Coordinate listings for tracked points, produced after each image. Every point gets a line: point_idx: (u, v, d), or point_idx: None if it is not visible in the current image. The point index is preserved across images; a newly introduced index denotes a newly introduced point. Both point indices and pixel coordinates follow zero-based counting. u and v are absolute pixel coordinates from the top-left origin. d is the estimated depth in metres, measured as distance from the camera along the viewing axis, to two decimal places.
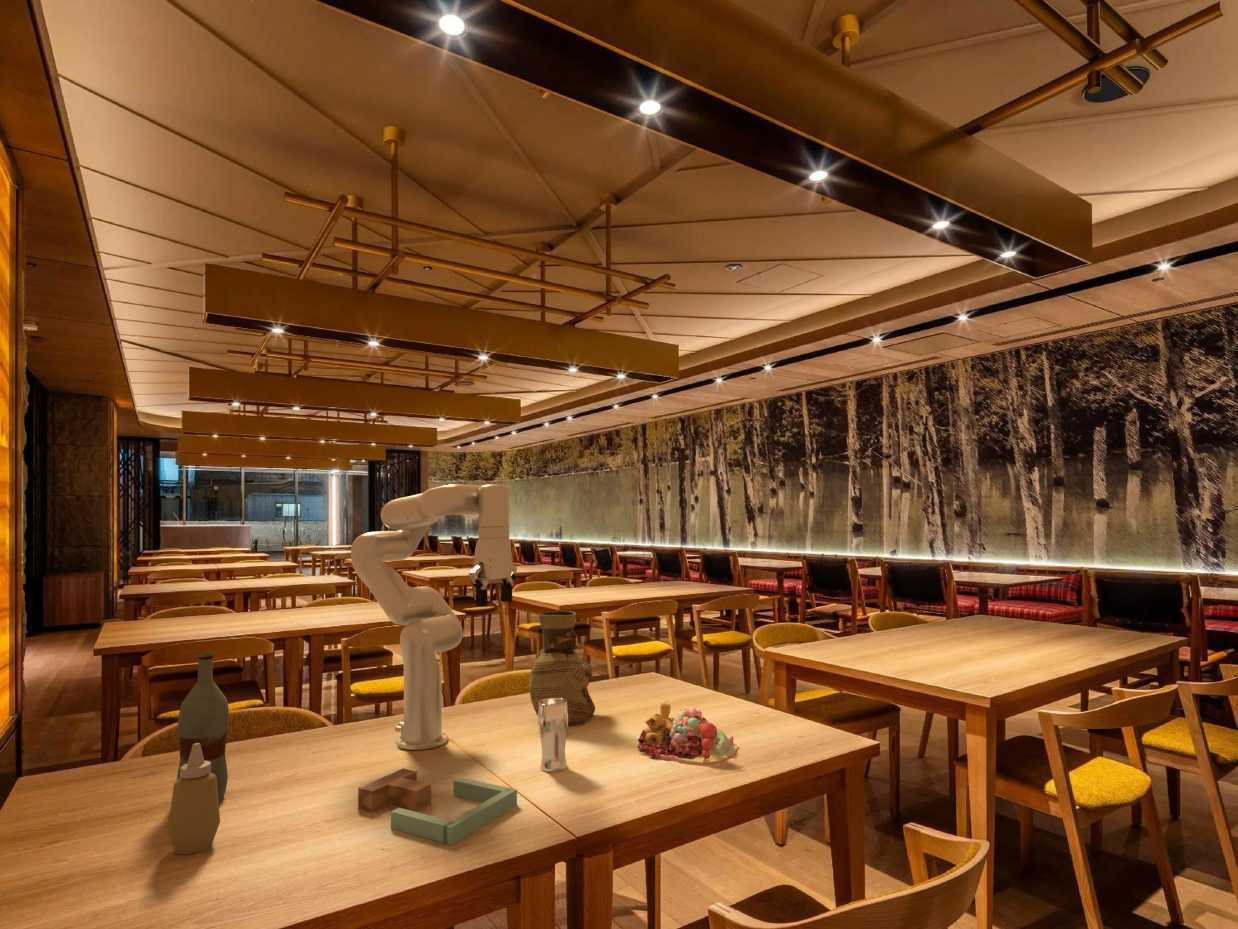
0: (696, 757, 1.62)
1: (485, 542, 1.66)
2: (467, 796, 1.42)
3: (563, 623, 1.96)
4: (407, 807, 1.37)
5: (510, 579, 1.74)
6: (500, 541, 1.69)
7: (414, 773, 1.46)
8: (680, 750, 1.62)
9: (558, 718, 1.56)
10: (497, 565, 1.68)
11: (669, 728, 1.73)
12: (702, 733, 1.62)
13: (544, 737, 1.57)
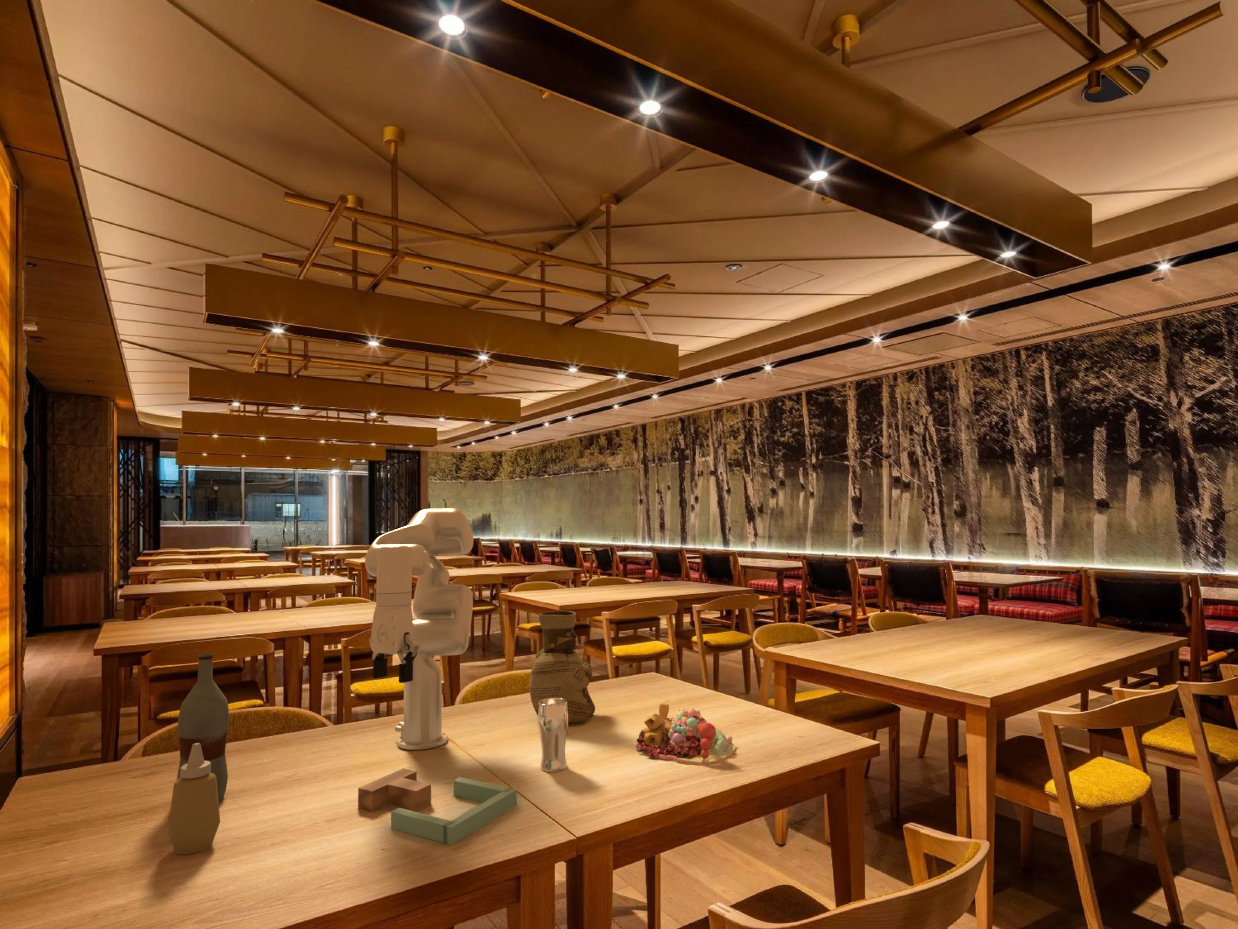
0: (695, 757, 1.62)
1: (408, 609, 1.51)
2: (467, 796, 1.42)
3: (563, 623, 1.96)
4: (407, 807, 1.37)
5: None
6: None
7: (414, 773, 1.46)
8: (679, 750, 1.62)
9: (558, 718, 1.56)
10: None
11: (668, 728, 1.73)
12: (701, 733, 1.62)
13: (544, 737, 1.57)
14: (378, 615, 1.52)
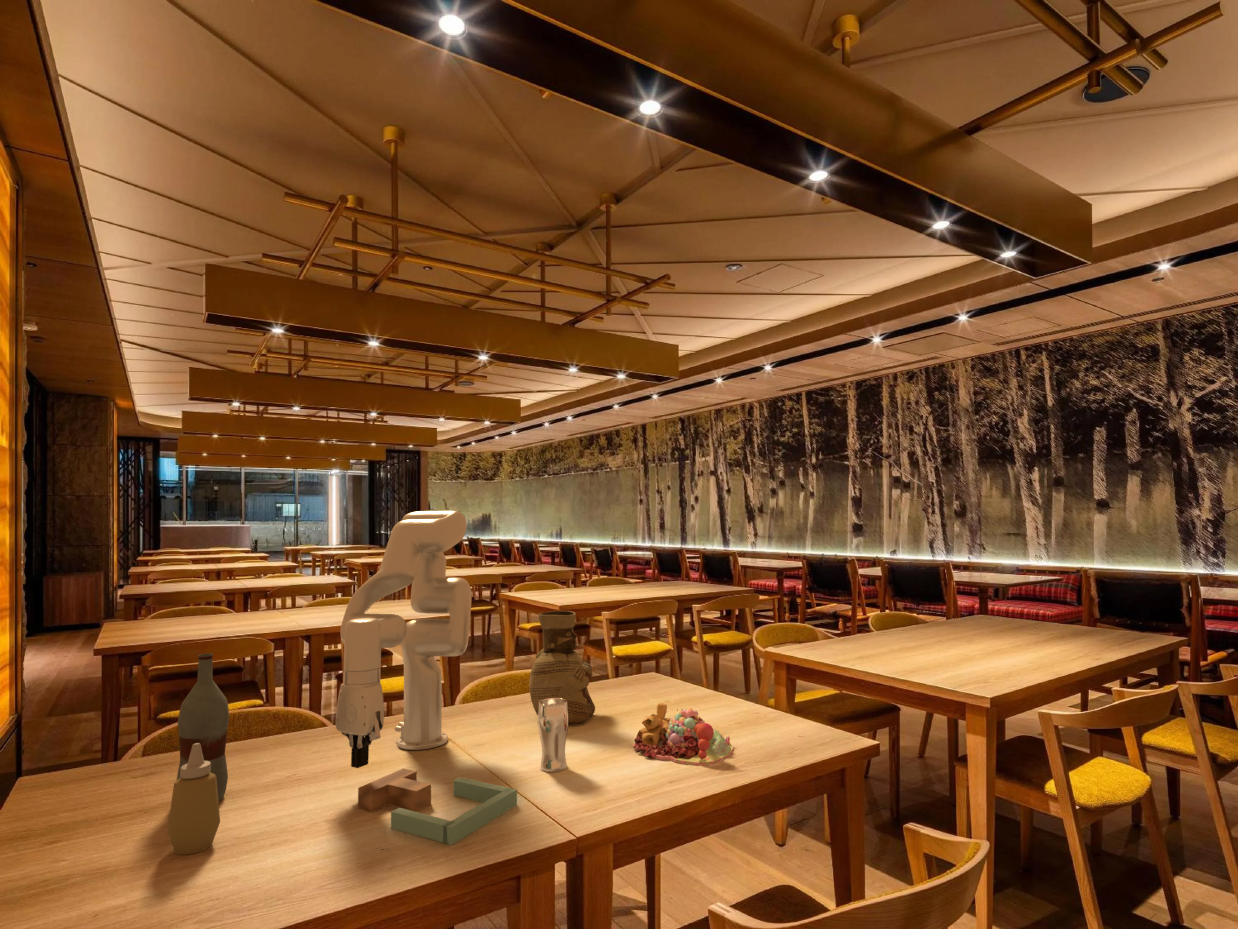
0: (692, 757, 1.61)
1: (379, 687, 1.46)
2: (467, 796, 1.42)
3: (563, 623, 1.96)
4: (407, 807, 1.37)
5: None
6: None
7: (414, 773, 1.46)
8: (676, 750, 1.62)
9: (558, 718, 1.56)
10: None
11: (665, 728, 1.73)
12: (698, 733, 1.62)
13: (544, 737, 1.57)
14: (345, 693, 1.46)
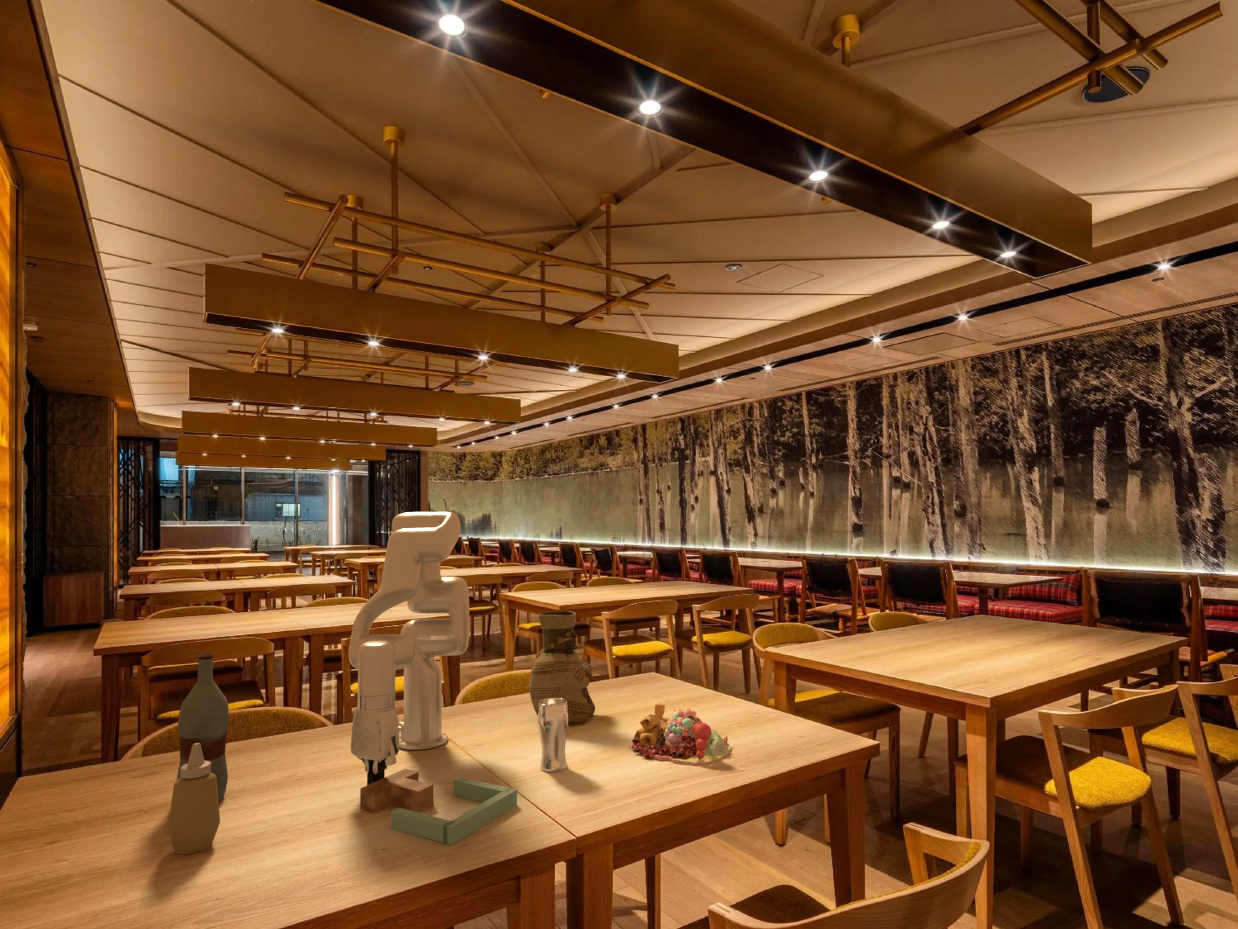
0: (690, 757, 1.61)
1: (394, 711, 1.44)
2: (467, 796, 1.42)
3: (563, 623, 1.96)
4: (410, 807, 1.37)
5: None
6: None
7: (416, 773, 1.46)
8: (674, 750, 1.62)
9: (558, 718, 1.56)
10: None
11: (663, 728, 1.73)
12: (696, 733, 1.62)
13: (544, 737, 1.57)
14: (360, 718, 1.44)
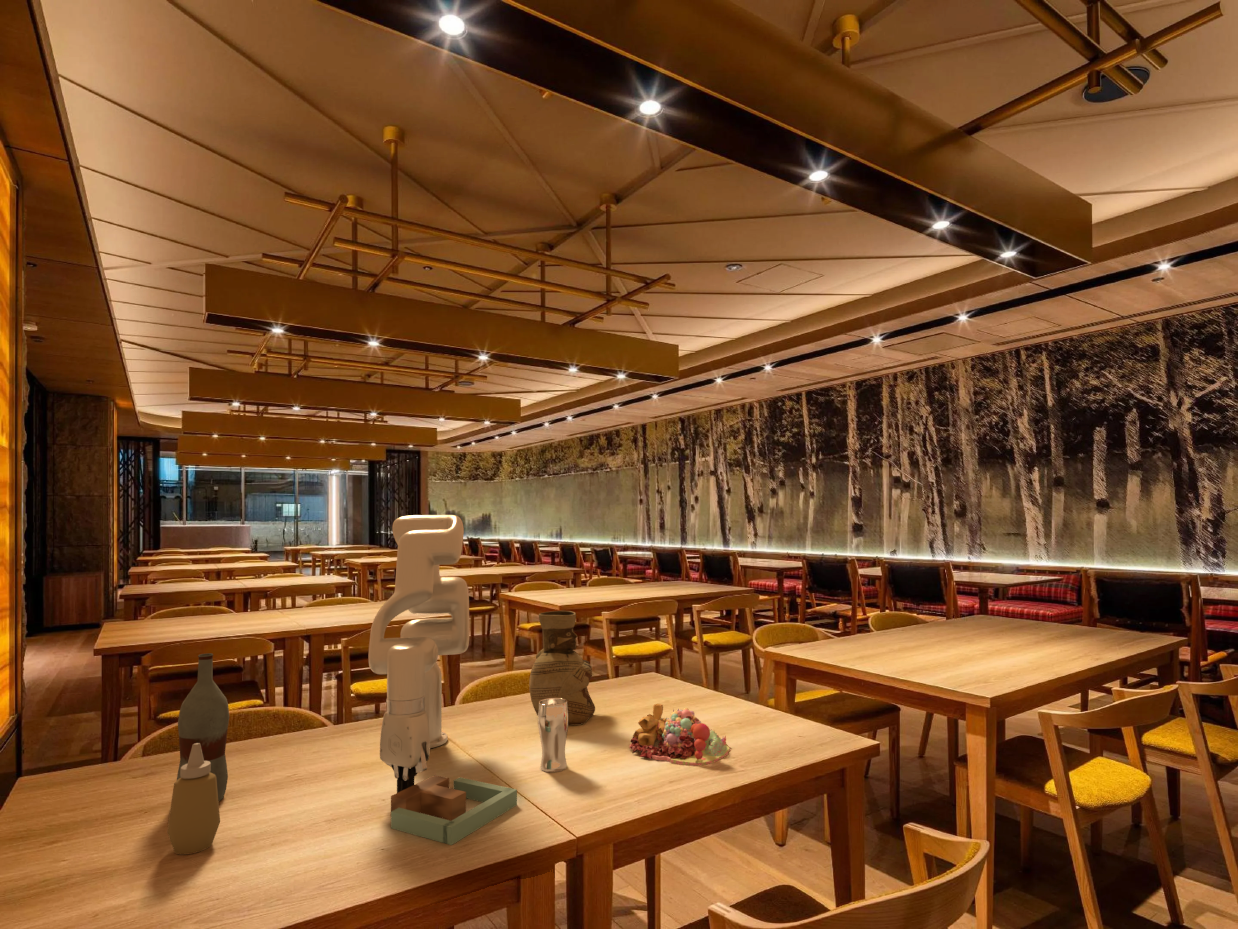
0: (689, 758, 1.61)
1: (424, 716, 1.40)
2: (467, 796, 1.42)
3: (563, 623, 1.96)
4: (442, 816, 1.33)
5: None
6: None
7: (446, 780, 1.42)
8: (673, 751, 1.62)
9: (558, 718, 1.56)
10: None
11: (662, 729, 1.73)
12: (695, 733, 1.61)
13: (544, 737, 1.57)
14: (389, 723, 1.40)
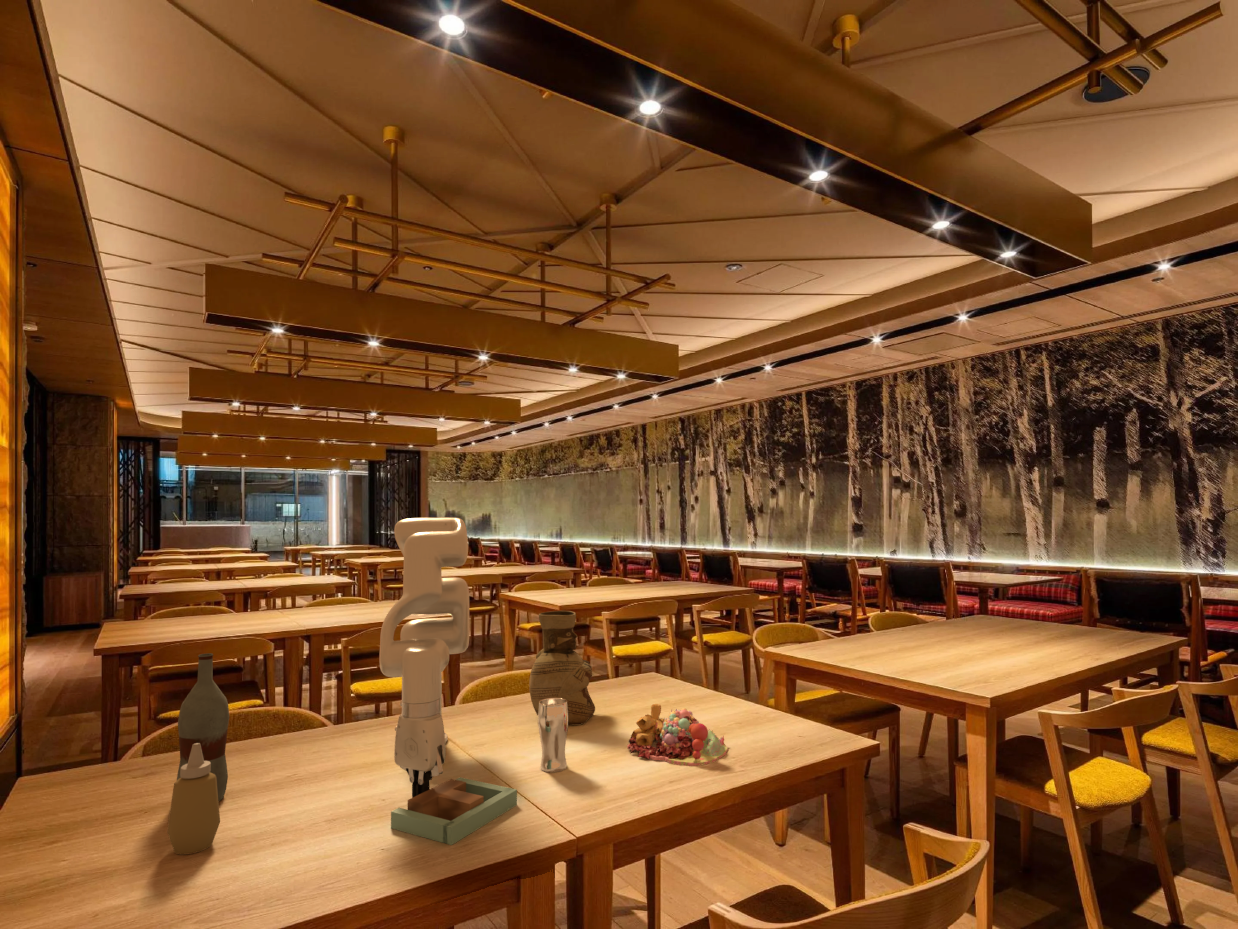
0: (687, 758, 1.61)
1: (440, 719, 1.38)
2: None
3: (563, 623, 1.96)
4: None
5: None
6: None
7: (463, 784, 1.40)
8: (671, 751, 1.62)
9: (558, 718, 1.56)
10: None
11: (660, 729, 1.72)
12: (693, 734, 1.61)
13: (544, 737, 1.57)
14: (404, 726, 1.38)
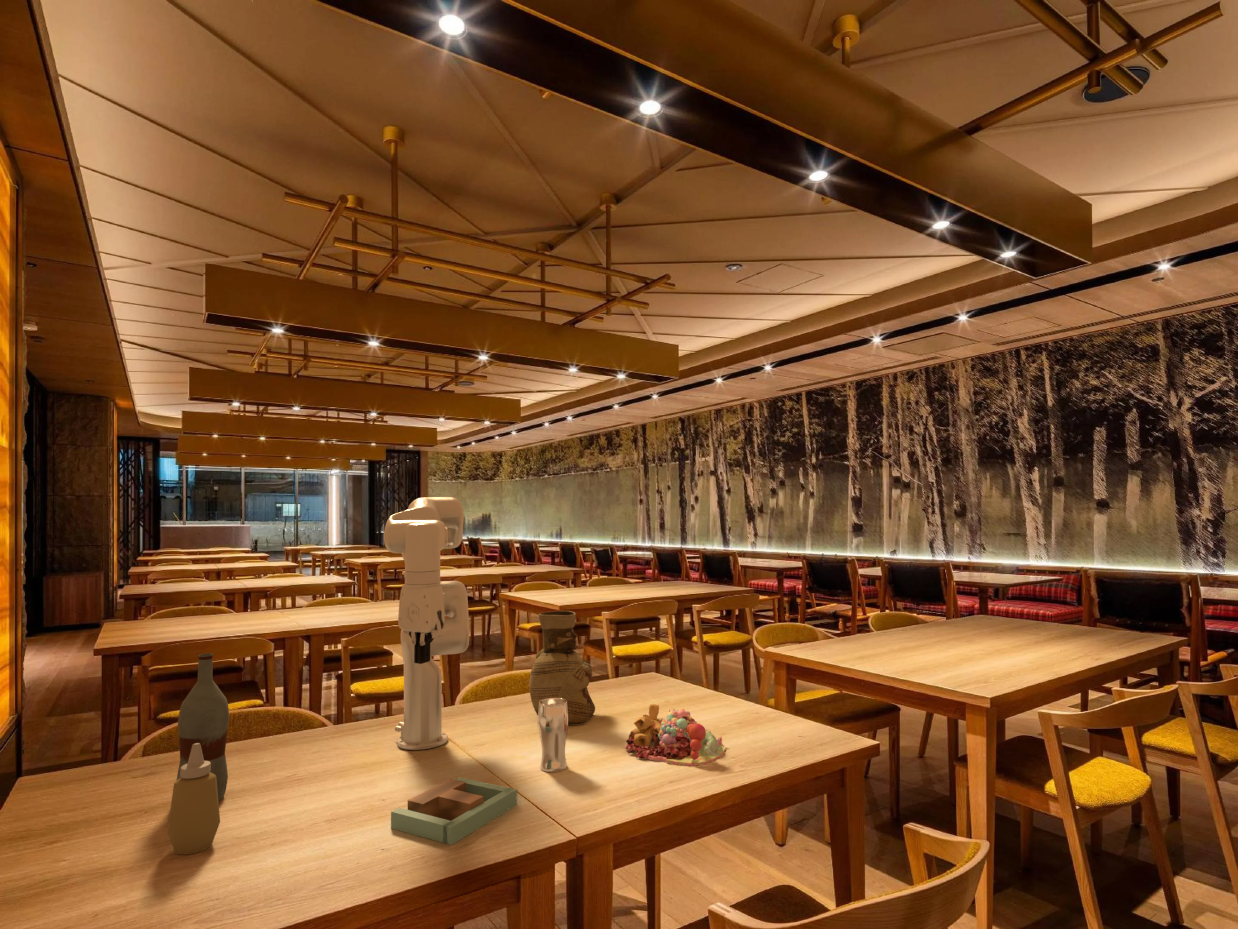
0: (684, 758, 1.61)
1: (440, 587, 1.50)
2: None
3: (563, 623, 1.96)
4: None
5: None
6: None
7: (463, 784, 1.40)
8: (668, 751, 1.62)
9: (558, 718, 1.56)
10: None
11: (657, 729, 1.72)
12: (690, 734, 1.61)
13: (544, 737, 1.57)
14: (407, 593, 1.50)
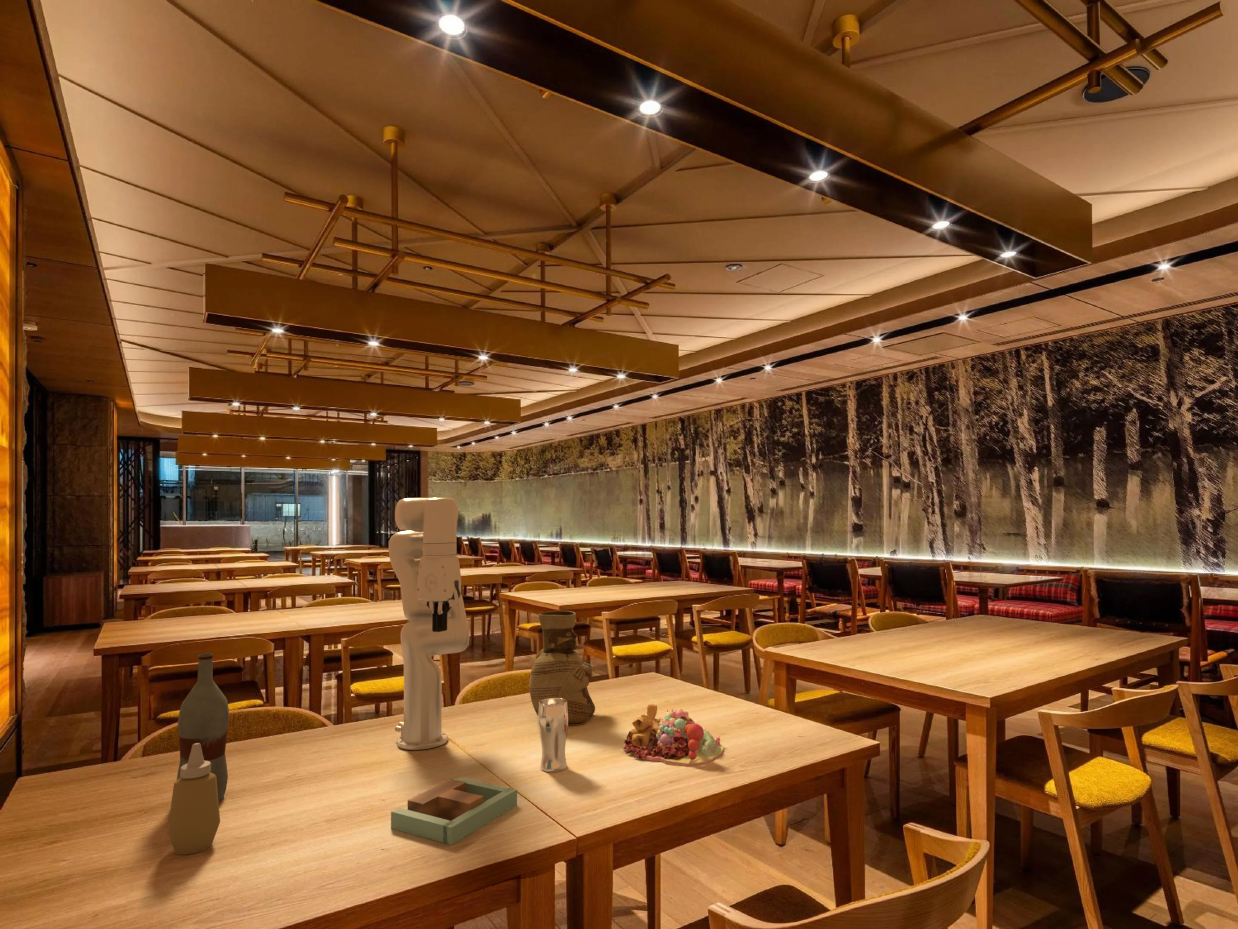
0: (682, 758, 1.61)
1: (456, 559, 1.58)
2: None
3: (563, 623, 1.96)
4: None
5: None
6: None
7: (463, 784, 1.40)
8: (666, 751, 1.62)
9: (558, 718, 1.56)
10: None
11: (656, 729, 1.72)
12: (688, 734, 1.61)
13: (544, 737, 1.57)
14: (425, 564, 1.58)
